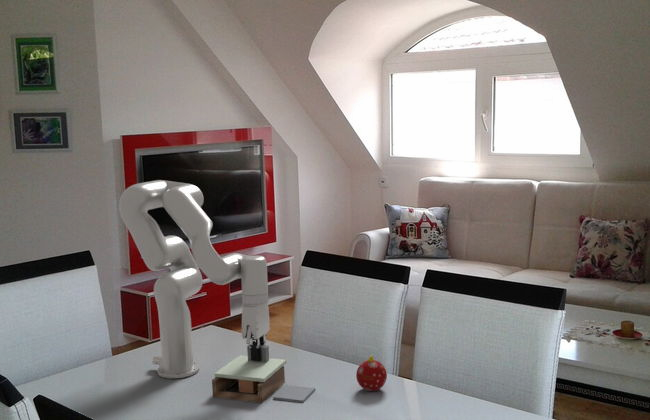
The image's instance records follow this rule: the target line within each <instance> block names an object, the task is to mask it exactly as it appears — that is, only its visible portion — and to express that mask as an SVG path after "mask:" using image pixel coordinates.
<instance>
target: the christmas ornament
mask: <svg viewBox="0 0 650 420" xmlns="http://www.w3.org/2000/svg"><path fill="white" fill-rule="evenodd" d="M355 377H356V381H357V383H358V385H359V386H360V387H361V388H362V389H363V390H364V391H368V392H376V391H378V390H380V389H381V388H382V387H384V385H385V384H386V381H387V380H388V379H387V377H388V374H387V369H386V368H385V366H384V365H383V364H382V363H381V362H380V361H378V360H375V359H374V356H373V355H369V357H368V360H364V361H363V362H362V363H360V364H359V366H358V367H357V370H356V376H355Z"/></svg>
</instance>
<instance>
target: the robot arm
mask: <svg viewBox="0 0 650 420" xmlns="http://www.w3.org/2000/svg"><path fill="white" fill-rule="evenodd" d="M203 194H204V193H203V192H202V191H201V189H200V188H199V187H198V186H196V185H194V184H193V183H192V184H191V183H188V182H187V183H185V182H178V181H171V180H162V179H157V180H151V181H145V182H140V183H135V184H132V185H130V186H128V187H127V188H126V189H125V190H124V191H123V192H122V193H121V196H120V198H119V203H118V210H119V214H120V217H121V220H122V222H123V223H124V225H125V227H126V228H127V230H128V231H129V233H130V234H131V237H132V239H133V241H134V243H135V244H134V245H136V248H137V250H138V252H139V253H140V255H141V258H142V259H143V262H144V264H145V265H146V267H147V269H149V270H150V271H153V272H159V271H163V270H166V269H168V270H169V271H168V272H165V273H164V274H162V275H160V276H159V277H158V278H157V279H156V281H155V283H154V284H153V295H154V299H155V302H156V303H155V304H156V306H157V313H158V322H159V323H158V324H159V325H158V326H159V337H160V338H159V339H160V350H161V351H160V352H161V355H154V356H153V357H152V362H151V363H152V365H158V366H159V368H157V375H158V376H159V377H161V378H163V379H172V380H173V379H175V380H176V379H183V378H188V377H190V376H193V375H195V374H197V373H198V372H199V370H200V366H199V364H198V363H196V362H194V355H193V354H194V351H193V350H194V349H193V337H192V334H193V333H192V317H191V312H190V308H189V306H188V304H187V302H186V299H188V298H190V297H191V296H193V295H195V294H197V293H198V292H200V290H201V289H202V287H203V277H202V273H203V274H204V275H205V276H206V278H208V280H210V281H211V282H212V283H213V284H216V285H218V286H219V285H220V286H224V285H227V284H229V283H231V282H233V281H235V280H238V279H240V280H241V297H242V298H241V299H242V309H241V310H242V311H241V337H242V339H244V340H245V339H246V341H245V344H246V345H247V346H248V345H250V349H251V360H252V361H261V360H262V357H261V348H260V345H266V343H267V339H266V337H267V334H268V332H269V331H270V329H271V325H270V324H271V321H270V320H271V318H270V311H269V309H270V307H269V302H270V301H269V286H268V265H267V259H266V258H265V257H264V256H263V255H247V254H242V253H236V252H235V253H230V254H227V255H224V256H222V257H221V256H220V254H219V253H218V252H217V251H216V250H215V248H214V246H213V245H212V242H211V238H210V236H211V235H210V234H211V231H212V229H213V225H214V224H213V221H212V220H211V219H210V217H209V216H208V215H207V213H206V212H205V211H204V210H203V209H202V206H203V205H204V198H205V197H204V195H203ZM158 208H164V209H165V212H167V214H168V215H169V216H170V217H171V218H172V220H173V221H174V222H175V223H176V225H177V226H178V227H179V228H180V230H181V231H182V232H183V233H184V235H185V236H186V237H187V238H188V240H189V243H190V244H189V245H190V248H189V246H188V244H187V243H186V242H185V241H184V240H183V239H182V238H181V237H179V236H177V235H167V236H164V234H163V232H162V230H161V228H160V225H159V224H158V223H157V221H156V220H155V219H154V218H153V217H152V215H150V214H149V213H148V211H149V210H154V209H158ZM190 249H191V250H190ZM201 271H202V273H201Z"/></svg>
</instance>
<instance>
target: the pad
mask: <svg viewBox="0 0 650 420" xmlns="http://www.w3.org/2000/svg"><path fill="white" fill-rule="evenodd" d="M315 391H316V387H310V386H309V387H307V386H298V385H290V384H286V385H284V386H283V387H282V388H280V390H279V391H278V392H276V393H275V395H273V397H272V398H273V399H272V400H279V401H288V402H295V403H296V402H297V403H305V402H306V400H307V399H308V398H309V397H311V395H312V394H313V393H314V392H315Z"/></svg>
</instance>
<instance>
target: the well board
mask: <svg viewBox="0 0 650 420" xmlns="http://www.w3.org/2000/svg"><path fill="white" fill-rule="evenodd" d="M237 382H239V380H238V379H231V378H221V377H215V376H214V378H213V379H212V380H211V384H212V388H211V389H212V397H213V398H220V399H228V400H237V401H245V402H254V403H261V404H263V403H264V402H265V401H266V400H267V399H268V398H270V396H272V395H273V394H274V393H275V392H276V391H277V390H278V389H279V388H280V387H281V386H283V385H284V384H285V383H286V380H285V365H284V366H282V367H281V368H280V369H279V370H278V371H277V372H275V373H274V374H273V375H272V376H271V377H270V378H268V379H267V380H266V381H265V382H260V383H259V384H258V390H257V393H258V394H253V393H244V392H235V391H234V392H232V391H227V390H228V389H229V388H231V387H232V386H233V385H234V384H235V383H237Z"/></svg>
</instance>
